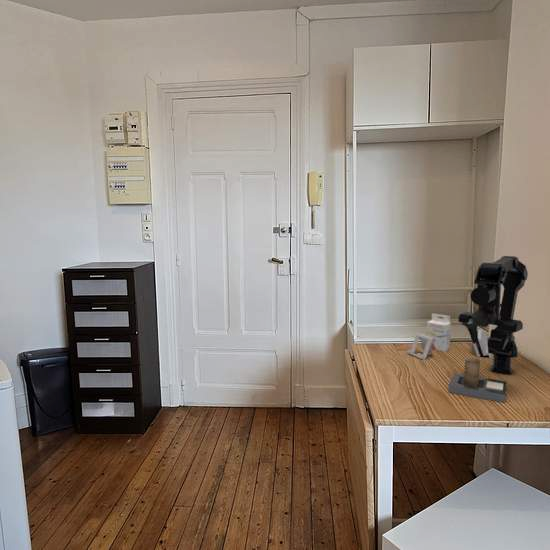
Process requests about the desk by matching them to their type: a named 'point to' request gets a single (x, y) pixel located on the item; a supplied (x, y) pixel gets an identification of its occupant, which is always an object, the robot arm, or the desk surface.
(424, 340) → the portable electronic device stand
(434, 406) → the desk surface
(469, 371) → the walnut peg
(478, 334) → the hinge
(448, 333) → the ink cartridge box
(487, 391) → the hole plate
